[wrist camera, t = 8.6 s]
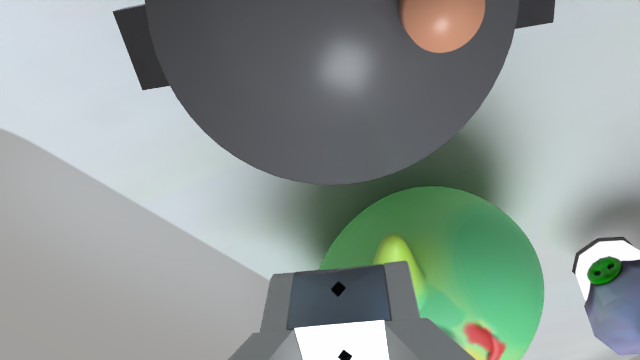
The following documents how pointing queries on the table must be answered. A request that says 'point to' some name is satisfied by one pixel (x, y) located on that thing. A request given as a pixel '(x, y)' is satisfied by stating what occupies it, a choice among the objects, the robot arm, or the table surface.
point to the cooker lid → (331, 77)
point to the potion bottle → (611, 292)
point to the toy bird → (454, 265)
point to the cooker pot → (138, 41)
